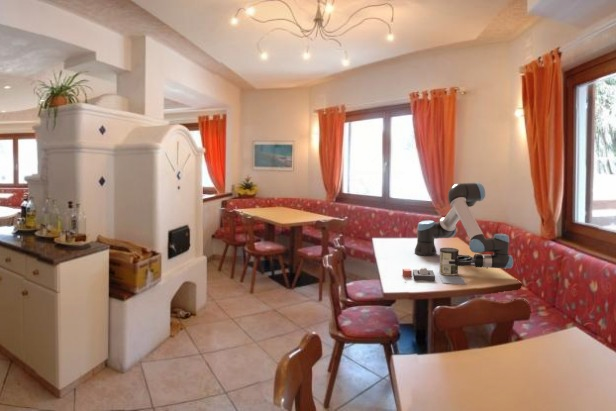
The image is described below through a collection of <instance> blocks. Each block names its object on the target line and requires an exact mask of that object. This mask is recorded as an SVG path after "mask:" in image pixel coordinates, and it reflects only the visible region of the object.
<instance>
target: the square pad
mask: <svg viewBox="0 0 616 411" xmlns="http://www.w3.org/2000/svg"><path fill="white" fill-rule="evenodd" d="M438 277H439V279H440V281H441V283H442V284H446V285H447V284H451V285H467V282H466V281H465V280H464V278H463V276H455V275H438Z"/></svg>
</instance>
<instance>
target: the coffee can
mask: <svg viewBox="0 0 616 411" xmlns="http://www.w3.org/2000/svg"><path fill="white" fill-rule="evenodd" d="M459 252H460V249H458V248H454V247H441V248H439V273H440V274H441V275H442V276H458V274H459V266H457V265H450V264H442V260H443V259H449V260H455V259H457V260H458V255H459Z"/></svg>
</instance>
